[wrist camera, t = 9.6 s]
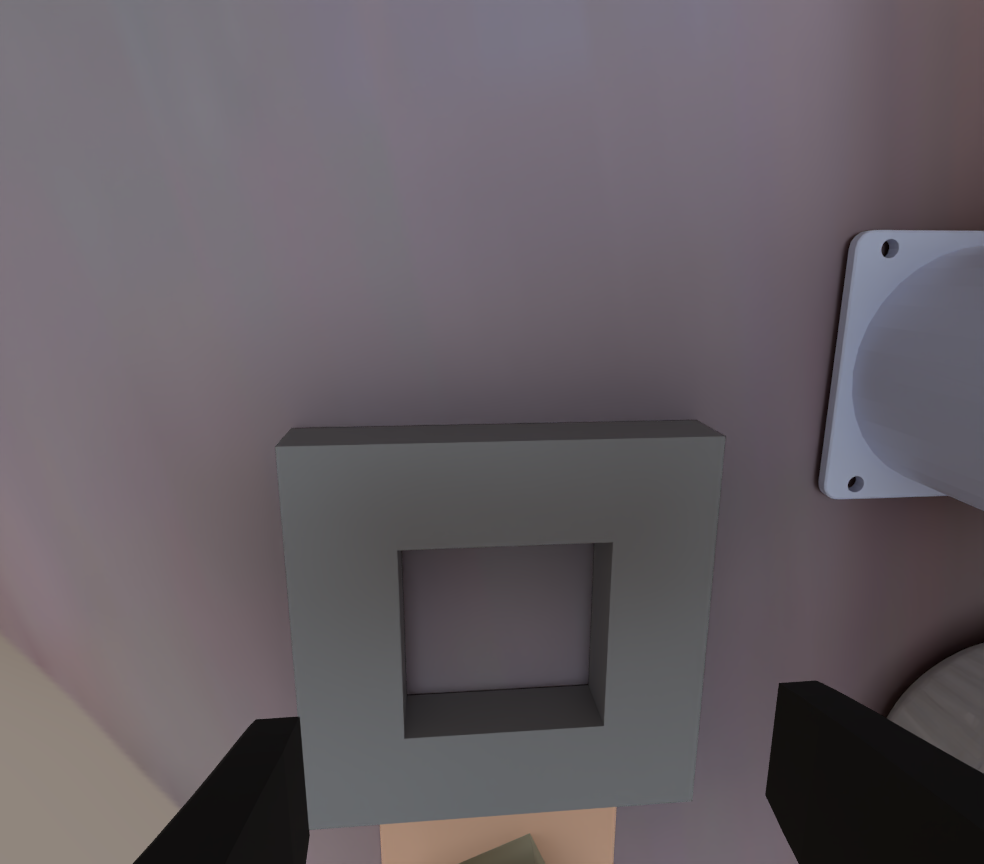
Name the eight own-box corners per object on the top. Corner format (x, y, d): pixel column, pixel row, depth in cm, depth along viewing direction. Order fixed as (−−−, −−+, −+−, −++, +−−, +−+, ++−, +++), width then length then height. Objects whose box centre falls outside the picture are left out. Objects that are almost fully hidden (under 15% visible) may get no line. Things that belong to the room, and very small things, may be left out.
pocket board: (696, 419, 20) (725, 436, 18) (669, 755, 22) (692, 801, 20) (291, 428, 18) (275, 446, 17) (318, 779, 21) (307, 829, 19)
